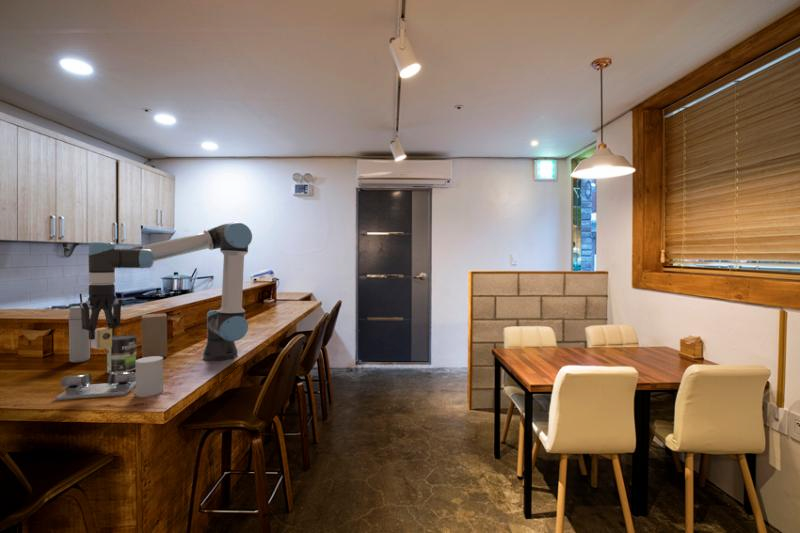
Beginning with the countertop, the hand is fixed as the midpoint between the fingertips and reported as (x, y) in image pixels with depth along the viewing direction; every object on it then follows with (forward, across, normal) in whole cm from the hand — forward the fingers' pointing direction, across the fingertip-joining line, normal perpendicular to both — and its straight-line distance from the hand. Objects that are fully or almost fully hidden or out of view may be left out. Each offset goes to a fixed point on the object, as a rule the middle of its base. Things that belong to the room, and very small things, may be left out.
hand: (101, 346), depth 135 cm
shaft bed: (+15, +4, +5) cm, 16 cm away
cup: (+15, -3, +22) cm, 27 cm away
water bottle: (+15, -18, -46) cm, 51 cm away
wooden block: (+15, -36, -22) cm, 45 cm away
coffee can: (+15, -16, -14) cm, 26 cm away
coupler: (0, 0, 0) cm, 0 cm away
